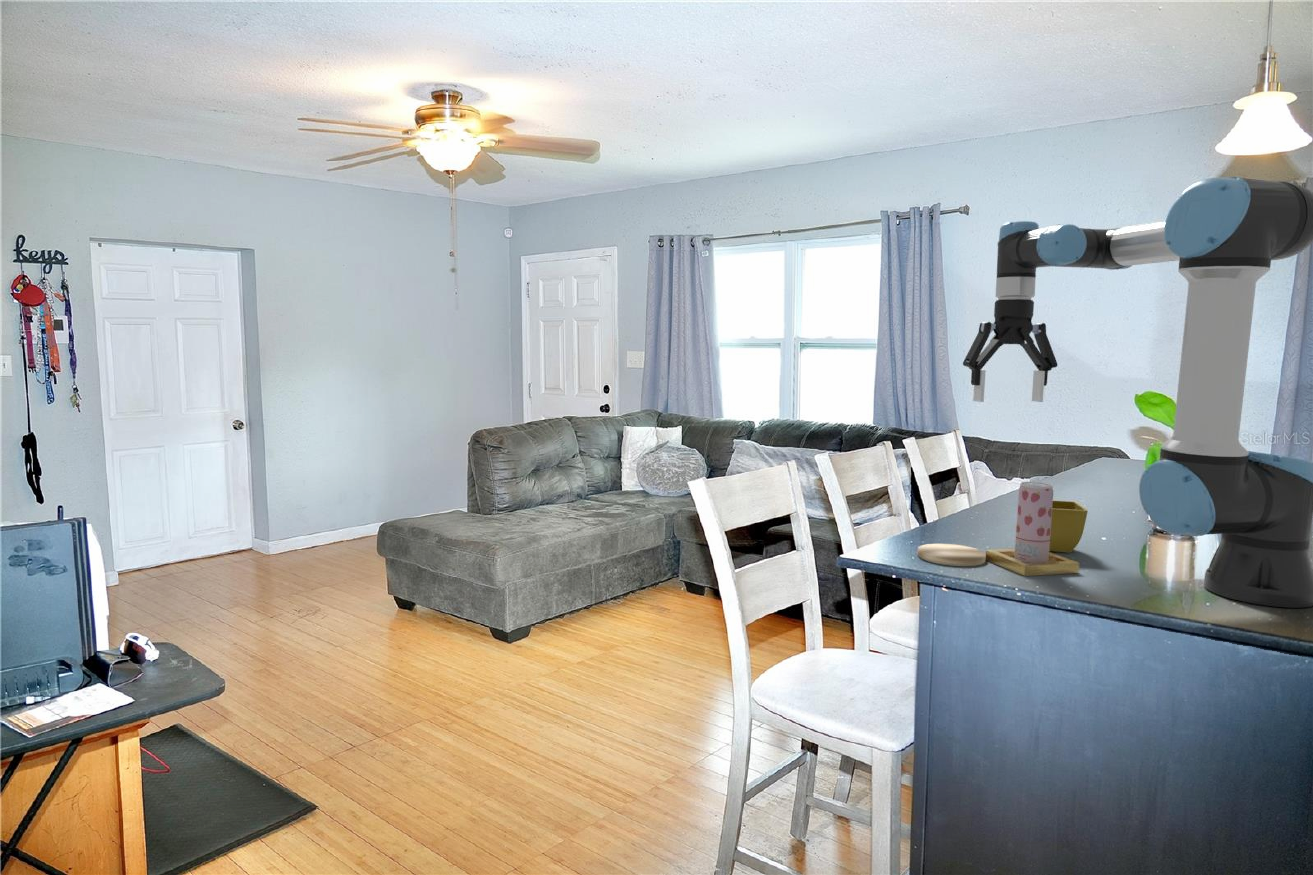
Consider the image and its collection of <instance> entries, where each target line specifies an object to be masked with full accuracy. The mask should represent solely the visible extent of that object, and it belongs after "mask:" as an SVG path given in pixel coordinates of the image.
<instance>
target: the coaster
mask: <svg viewBox="0 0 1313 875" xmlns="http://www.w3.org/2000/svg"><path fill="white" fill-rule="evenodd" d="M917 557H918V558H919V559H922V560H923V561H927V562H929V563H934V564H937V565H938V564H939V565H945V566H951V567H976V566H981V565H985V563H986V562H987V560H986V551H983V550H981V549H979V548H975V547H971V546H968V545H963V544H953V543H927V544H922V545H920V546H918V547H917Z"/></svg>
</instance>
